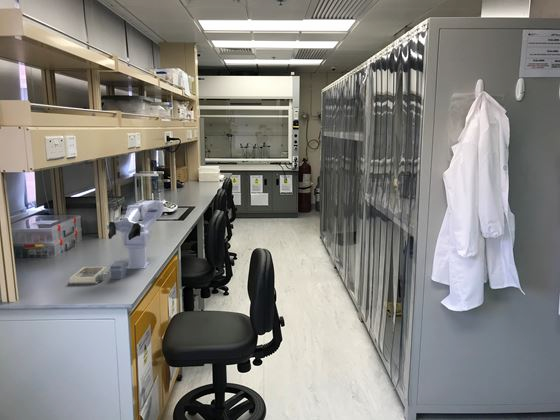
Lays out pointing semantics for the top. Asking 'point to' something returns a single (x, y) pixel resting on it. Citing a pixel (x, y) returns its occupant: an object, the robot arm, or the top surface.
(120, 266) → the block
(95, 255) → the top surface
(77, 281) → the frame
